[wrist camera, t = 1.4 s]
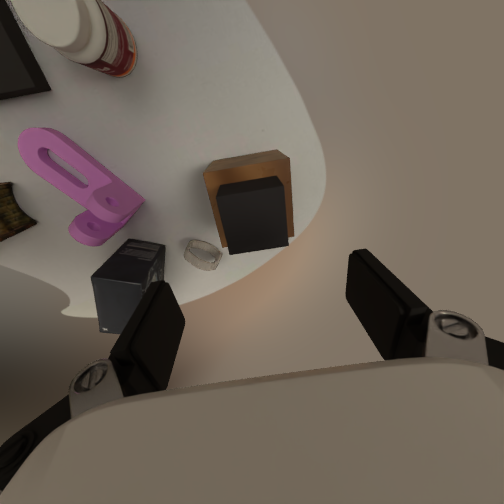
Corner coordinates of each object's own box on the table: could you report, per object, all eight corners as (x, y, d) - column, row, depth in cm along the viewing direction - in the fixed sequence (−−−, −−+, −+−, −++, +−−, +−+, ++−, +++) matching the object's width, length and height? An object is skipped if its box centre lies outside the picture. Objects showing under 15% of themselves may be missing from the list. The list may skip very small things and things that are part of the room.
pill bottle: (83, 60, 21) (0, 25, 14) (89, -2, 19) (-5, -82, 12) (133, 88, 22) (81, 70, 15) (143, 33, 20) (89, -19, 13)
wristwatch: (217, 258, 33) (213, 278, 29) (186, 246, 32) (178, 265, 28) (224, 244, 32) (222, 262, 28) (193, 231, 31) (185, 248, 27)
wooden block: (276, 149, 26) (289, 157, 19) (282, 211, 30) (294, 236, 23) (212, 160, 26) (202, 173, 19) (226, 220, 30) (222, 247, 23)
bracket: (145, 199, 28) (119, 219, 22) (123, 226, 30) (94, 251, 24) (40, 115, 23) (-30, 111, 17) (21, 154, 25) (-49, 162, 19)
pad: (276, 175, 20) (284, 185, 16) (281, 227, 22) (288, 246, 19) (219, 184, 20) (215, 197, 16) (231, 235, 23) (229, 255, 19)
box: (164, 290, 36) (142, 338, 28) (130, 285, 35) (97, 333, 27) (167, 244, 32) (141, 284, 24) (127, 237, 31) (86, 276, 23)
